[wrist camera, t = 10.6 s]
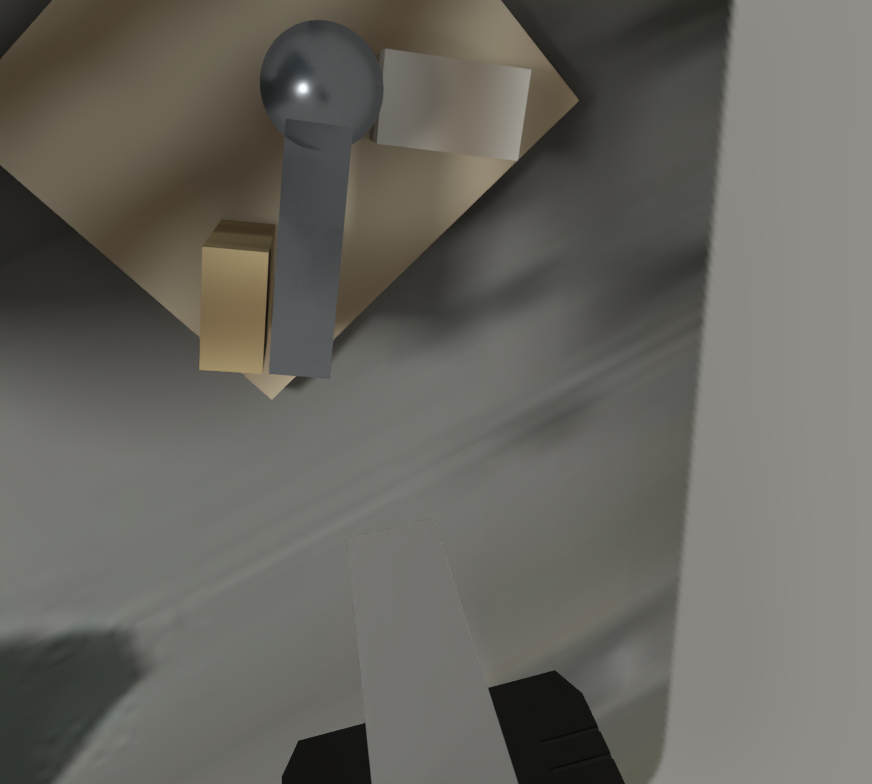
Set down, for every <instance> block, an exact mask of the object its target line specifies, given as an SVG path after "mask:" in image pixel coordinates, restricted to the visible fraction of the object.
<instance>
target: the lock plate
mask: <svg viewBox="0 0 872 784" xmlns="http://www.w3.org/2000/svg"><path fill="white" fill-rule="evenodd" d="M310 20H326V21H332V22H336V23H339V24H341V25H344V26H346V27H347V28H349V29H351V30H353V31H354V32H355V33H357V34H358V35H359V36H360V37H361V38H362V39H363V40H364V41H365V42H366V43H367V44H368V45H369V47H370V48H371V50H372V51H373V53H374V54H375V56H376V58H377V61H378V63H379V66H380V69H381V72H382V77H383V86H384V91H383V101H382V106H381V109H380V112H379V115H378V117H377V119H376V121H375V123H374V124H373V126H372V127H371V129H370V130H369V131H368V132H367V133H366V134H365V135H364V136H363V137H362V138H361V139H360V140H358V141H357V142H356V143H354V144H352V146H351V156H350V167H349V178H348V189H347V199H346V210H345V221H344V232H343V242H342V253H341V264H340V275H339V285H338V296H337V307H336V318H335V328H334V339H335V338H336V337H337V336H338V335H339V334H340V333H341V332H342V331H343V330H344V329H345V328H346V327H347V326H348V325H349V324H350V323H351V322H352V321H353V320H354V319H355V318H356V317H357V316H358V315H359V314H360V313H361V312H362V311H363V310H364V309H365V308H366V307H368V306H369V305H370V304H371V303H372V302H373V301H374V300H375V299H376V298H377V297H378V296H379V295H380V294H381V293H382V292H383V291H384V290H385V289H386V288H387V287H388V286H389V285H390V284H391V283H392V282H393V281H394V280H395V279H396V278H397V277H398V276H399V275H400V274H401V273H402V272H403V271H405V270H406V269H407V268H408V267H409V266H410V265H411V264H412V263H413V262H414V261H415V260H416V259H417V258H418V257H419V256H420V255H421V254H422V253H423V252H424V251H425V250H426V249H427V248H428V247H429V246H430V245H431V244H432V243H433V242H434V241H435V240H436V239H437V238H438V237H439V236H440V235H441V234H443V233H444V232H445V231H446V230H447V229H448V228H449V227H450V226H451V225H452V224H453V223H454V222H455V221H456V220H457V219H458V218H459V217H460V216H461V215H462V214H463V213H464V212H465V211H466V210H467V209H468V208H469V207H470V206H471V205H472V204H473V203H474V202H475V201H476V200H477V199H478V198H480V197H481V196H482V195H483V194H484V193H485V192H486V191H487V190H488V189H489V188H490V187H491V186H492V185H493V184H494V183H495V182H496V181H497V180H498V179H499V178H500V177H501V176H502V175H503V174H504V173H505V172H506V171H507V170H508V169H509V168H510V167H511V166H512V165H513V164H514V163H515V162H516V161H518V160H519V159H520V158H521V157H522V156H523V155H524V154H525V153H526V152H527V151H528V150H529V149H530V148H531V147H532V146H533V145H534V144H535V143H536V142H537V141H538V140H539V139H540V138H541V137H542V136H543V135H544V134H545V133H546V132H547V131H548V130H549V129H550V128H551V127H552V126H553V125H554V124H556V123H557V122H558V121H559V120H560V119H561V118H562V117H563V116H564V115H565V114H566V113H567V112H568V111H569V110H570V109H571V108H572V107H573V106H574V105H575V104H576V103H577V102H578V101H579V100H578V98H577V97H576V96H575V95H574V93H573V92H572V91H571V89H570V88H569V87H568V86H567V84H566V83H565V82H564V80H563V79H562V78H561V77H560V75H559V74H558V73H557V71H556V70H555V69H554V68H553V66H552V65H551V64H550V62H549V61H548V60H547V59H546V57H545V56H544V55H543V53H542V52H541V51H540V50H539V48H538V47H537V46H536V44H535V43H534V42H533V41H532V39H531V38H530V37H529V35H528V34H527V33H526V32H525V30H524V29H523V28H522V26H521V25H520V24H519V23H518V21H517V20H516V19H515V17H514V16H513V15H512V14H511V12H510V11H509V10H508V8H507V7H506V6H505V5H504V3H503V2H502V1H501V0H52V1H51V2H50V3H49V5H48V6H47V7H46V8H45V9H44V10H43V11H42V12H41V14H40V15H39V16H38V17H37V18H36V19H35V20H34V22H33V23H32V24H31V25H30V26H29V27H28V28H27V29H26V31H25V32H24V33H23V34H22V35H21V36H20V37H19V38H18V40H17V41H16V42H15V43H14V44H13V45H12V46H11V47H10V49H9V50H8V51H7V52H6V53H5V54H4V55H3V56H2V58H1V59H0V165H1V166H2V167H3V168H4V169H5V170H6V171H8V172H9V173H10V174H11V175H12V176H13V177H15V178H16V179H17V180H18V181H19V182H20V183H22V184H23V185H24V186H25V187H26V188H27V189H28V190H30V191H31V192H32V193H33V194H34V195H35V196H37V197H38V198H39V199H40V200H41V201H42V202H43V203H45V204H46V205H47V206H48V207H49V208H50V209H52V210H53V211H54V212H55V213H56V214H57V215H59V216H60V217H61V218H62V219H63V220H64V221H65V222H67V223H68V224H69V225H70V226H71V227H72V228H74V229H75V230H76V231H77V232H78V233H79V234H81V235H82V236H83V237H84V238H85V239H86V240H87V241H89V242H90V243H91V244H92V245H93V246H94V247H96V248H97V249H98V250H99V251H100V252H101V253H103V254H104V255H105V256H106V257H107V258H108V259H109V260H111V261H112V262H113V263H114V264H115V265H116V266H118V267H119V268H120V269H121V270H122V271H123V272H125V273H126V274H127V275H128V276H129V277H130V278H131V279H133V280H134V281H135V282H136V283H137V284H138V285H140V286H141V287H142V288H143V289H144V290H145V291H147V292H148V293H149V294H150V295H151V296H152V297H153V298H155V299H156V300H157V301H158V302H159V303H160V304H162V305H163V306H164V307H165V308H166V309H167V310H169V311H170V312H171V313H172V314H173V315H174V316H175V317H177V318H178V319H179V320H180V321H181V322H182V323H184V324H185V325H186V326H187V327H188V328H189V329H191V330H192V331H193V332H194V333H195V334H196V335H197V336H199V337H200V362H199V370H208V371H224V372H239V373H241V374H243V375H244V376H245V377H246V378H247V379H248V380H250V381H251V382H252V383H253V384H254V385H255V386H256V387H258V388H259V389H260V390H261V391H262V392H263V393H265V394H266V395H267V396H268V397H269V398H270V399H273V398H274V397H275V396H276V395H277V394H278V393H279V392H280V391H281V390H282V389H283V388H284V387H285V386H286V385H287V384H288V383H289V382H290V381H292V380H293V379H294V378H295V377H296V376H288V375H275V374H269V362H270V346H271V331H272V316H273V301H274V286H275V271H276V256H277V240H278V225H279V210H280V195H281V180H282V165H283V149H284V135H283V134H282V133H281V132H280V131H279V130H278V129H277V128H276V127H275V125H274V124H273V123H272V121H271V120H270V118H269V116H268V114H267V112H266V110H265V107H264V105H263V101H262V97H261V91H260V73H261V67H262V63H263V60H264V58H265V55H266V53H267V51H268V49H269V48H270V46H271V45H272V43H273V42H274V41H275V39H276V38H277V37H278V36H279V35H280V34H281V33H283V32H284V31H285V30H287V29H288V28H290V27H292V26H294V25H296V24H299V23H302V22H305V21H310ZM334 339H333V340H334Z"/></svg>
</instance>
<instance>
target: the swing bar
mask: <svg viewBox="0 0 872 784" xmlns="http://www.w3.org/2000/svg"><path fill="white" fill-rule="evenodd" d="M260 91H261V97H262V101H263V105H264V107H265V110H266V112H267V114H268V116H269V118H270V120H271V121H272V123H273V124H274V125H275V127H276V128H277V129H278V130H279V131H280V132H281V133H282V134H283V135H284V149H283V165H282V180H281V195H280V210H279V225H278V240H277V256H276V271H275V286H274V301H273V316H272V331H271V346H270V362H269V374H275V375H288V376H302V377H315V378H329V379H330V371H331V360H332V350H333V339H334V328H335V318H336V307H337V296H338V285H339V275H340V264H341V253H342V242H343V232H344V221H345V210H346V199H347V189H348V178H349V167H350V156H351V146H352V144H354V143H356V142H357V141H358V140H360V139H361V138H362V137H363V136H364V135H365V134H366V133H367V132H368V131H369V130H370V129H371V127H372V126H373V124H374V123H375V121H376V119H377V117H378V115H379V112H380V109H381V106H382V101H383V91H384V86H383V77H382V72H381V69H380V66H379V63H378V61H377V58H376V56H375V54H374V53H373V51H372V50H371V48H370V47H369V45H368V44H367V43H366V42H365V41H364V40H363V39H362V38H361V37H360V36H359V35H358V34H357V33H355V32H354V31H353V30H351V29H349V28H347V27H346V26H344V25H341V24H339V23H336V22H332V21H326V20H310V21H305V22H302V23H299V24H296V25H294V26H292V27H290V28H288V29H287V30H285V31H284V32H283V33H281V34H280V35H279V36H278V37H277V38H276V39H275V41H274V42H273V43H272V45H271V46H270V48H269V49H268V51H267V53H266V55H265V58H264V60H263V63H262V67H261V73H260Z"/></svg>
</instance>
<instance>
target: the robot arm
mask: <svg viewBox="0 0 872 784" xmlns="http://www.w3.org/2000/svg"><path fill="white" fill-rule="evenodd" d="M346 540H347V550H348V559H349V569H350V579H351V588H352V598H353V608H354V617H355V627H356V637H357V646H358V656H359V666H360V675H361V685H362V694H363V704H364V714H365V723H364V724H360V725H356V726H352V727H349V728H345V729H341V730H337V731H334V732H330V733H326V734H322V735H319V736H315V737H311V738H307V739H303V740H300V741H298V743H297V745H296V747H295V749H294V752H293V754H292V756H291V758H290V760H289V763H288V765H287V767H286V769H285V771H284V773H283V776H282V784H625V783H624V781H623V779H622V776H621V774H620V772H619V770H618V768H617V766H616V764H615V762H614V759H612V757H611V754H610V751H609V749H608V747H607V745H606V742H605V740H604V738H603V736H602V734H601V732H599V730H598V726H597V723H596V721H595V719H594V717H593V715H592V713H591V711H590V709H589V706H588V704H587V702H586V700H585V698H584V696H583V694H582V693H581V692H580V691H579V690H578V689H576V688H575V687H574V686H573V685H572V684H571V683H569V682H568V681H567V680H566V679H565V678H563V677H562V676H561V675H560V674H559V673H558V672H556V671H555V670H554V671H551V672H547V673H543V674H539V675H535V676H532V677H528V678H524V679H520V680H517V681H513V682H509V683H505V684H501V685H498V686H494V687H490V688H488V687H487V683H486V680H485V677H484V674H483V671H482V668H481V665H480V661H479V658H478V655H477V652H476V649H475V646H474V642H473V639H472V636H471V633H470V630H469V627H468V623H467V620H466V617H465V614H464V611H463V608H462V604H461V601H460V598H459V595H458V592H457V589H456V586H455V582H454V579H453V576H452V573H451V570H450V567H449V563H448V560H447V557H446V554H445V551H444V548H443V544H442V541H441V538H440V535H439V532H438V529H437V526H436V522H435V519H434V518H431V519H427V520H423V521H418V522H414V523H410V524H406V525H402V526H398V527H394V528H390V529H386V530H382V531H378V532H373V533H369V534H365V535H361V536H357V537H353V538H349V539H346Z"/></svg>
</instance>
